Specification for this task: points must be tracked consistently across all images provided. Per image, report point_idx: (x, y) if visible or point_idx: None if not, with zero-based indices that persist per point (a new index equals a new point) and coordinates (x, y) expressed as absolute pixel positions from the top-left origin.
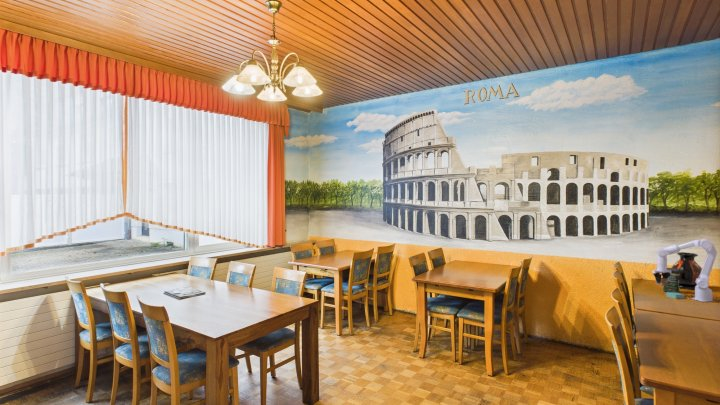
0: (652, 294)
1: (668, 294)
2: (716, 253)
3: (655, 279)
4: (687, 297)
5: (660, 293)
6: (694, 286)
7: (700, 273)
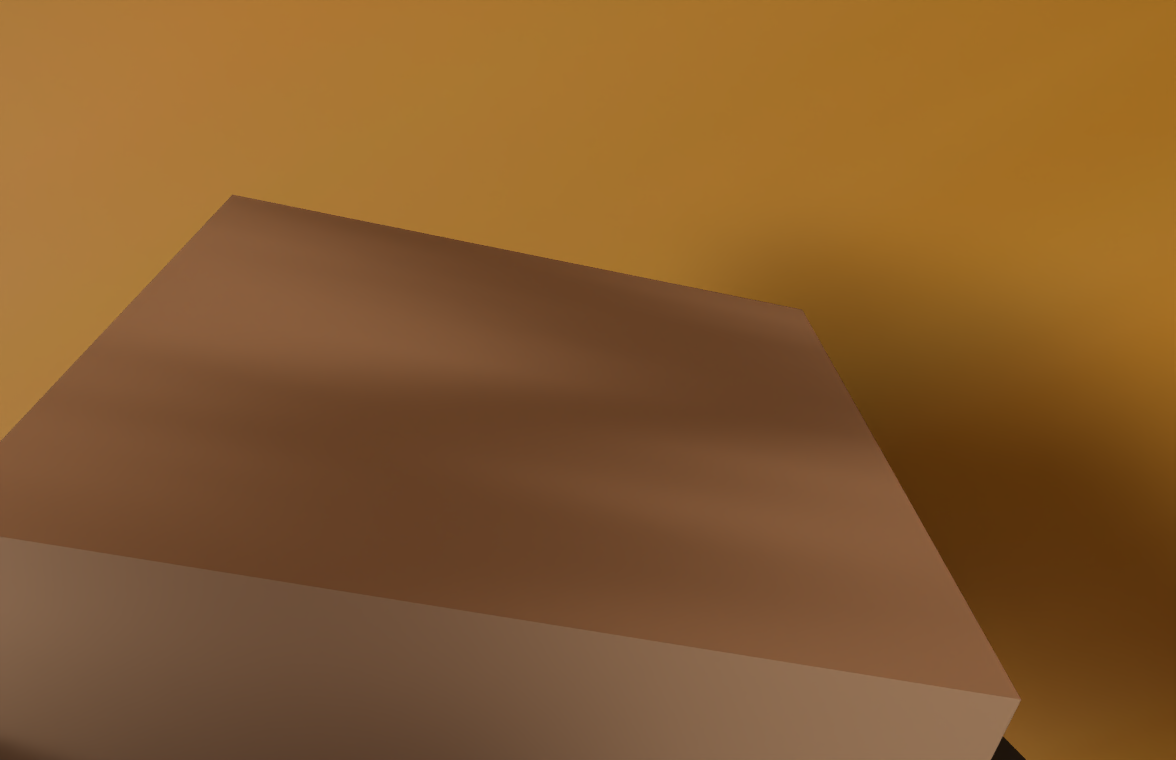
0: (166, 40)
1: None
2: None
3: (60, 384)
4: (1052, 753)
5: (787, 58)
6: None
7: None
